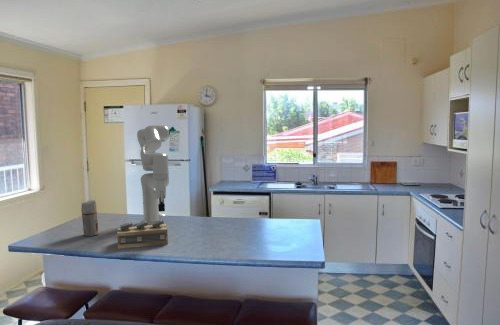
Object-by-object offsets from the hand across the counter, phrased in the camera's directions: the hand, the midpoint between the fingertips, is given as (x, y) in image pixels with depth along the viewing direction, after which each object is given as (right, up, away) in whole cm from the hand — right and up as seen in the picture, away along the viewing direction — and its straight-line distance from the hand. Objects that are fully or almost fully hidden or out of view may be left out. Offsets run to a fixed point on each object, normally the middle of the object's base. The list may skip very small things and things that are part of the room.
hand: (161, 211), depth 213 cm
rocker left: (-18, -7, -4) cm, 19 cm away
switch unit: (-10, -17, -1) cm, 20 cm away
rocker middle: (-10, -7, -2) cm, 12 cm away
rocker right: (-2, -7, 0) cm, 7 cm away
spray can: (-44, -16, +16) cm, 49 cm away
